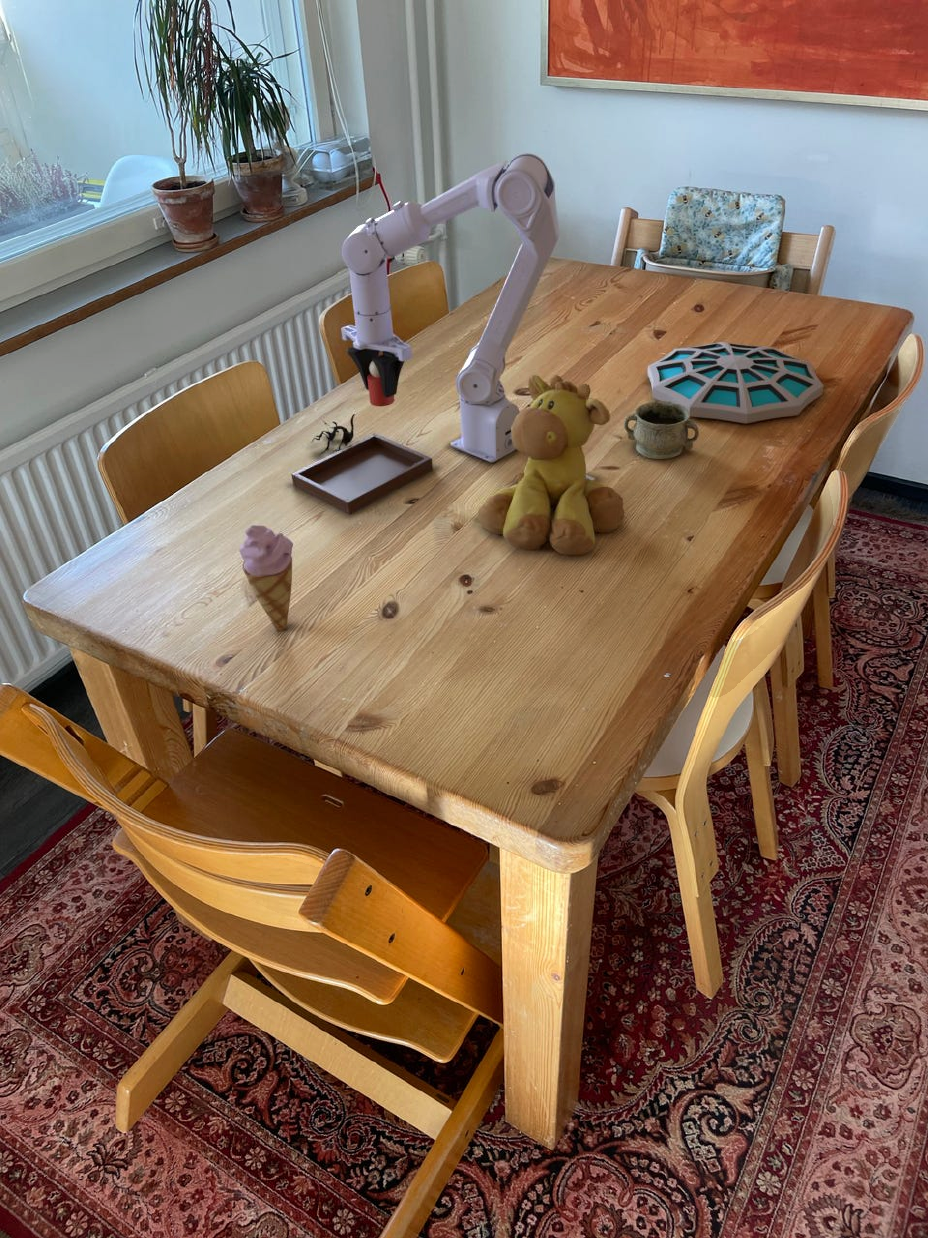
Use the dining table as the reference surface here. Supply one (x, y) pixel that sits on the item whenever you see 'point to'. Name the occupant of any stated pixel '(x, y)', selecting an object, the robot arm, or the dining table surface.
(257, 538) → the ice cream cone
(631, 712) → the dining table surface
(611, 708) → the dining table surface
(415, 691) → the dining table surface
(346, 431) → the creature
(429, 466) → the tray
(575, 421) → the giraffe plush
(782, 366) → the decorative platform
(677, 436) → the vessel
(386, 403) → the peg doll
